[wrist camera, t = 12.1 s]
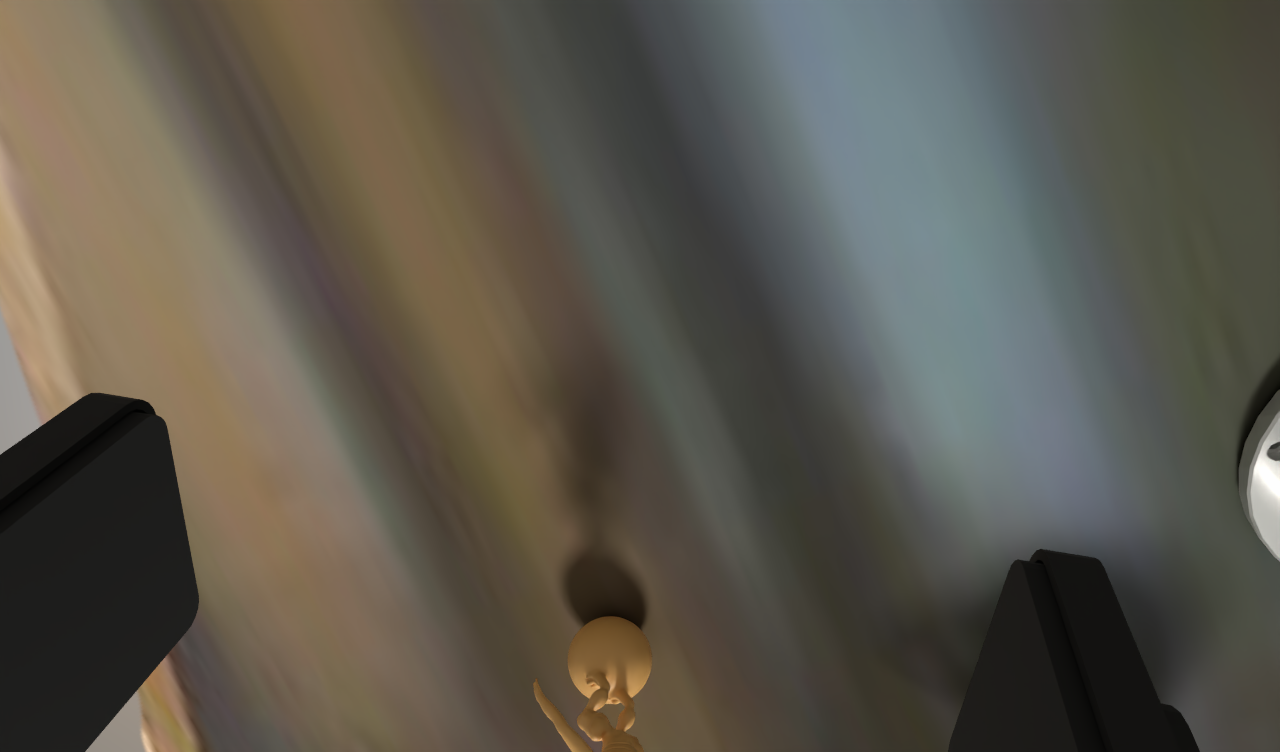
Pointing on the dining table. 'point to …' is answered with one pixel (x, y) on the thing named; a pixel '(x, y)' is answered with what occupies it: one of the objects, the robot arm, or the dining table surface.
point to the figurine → (604, 682)
